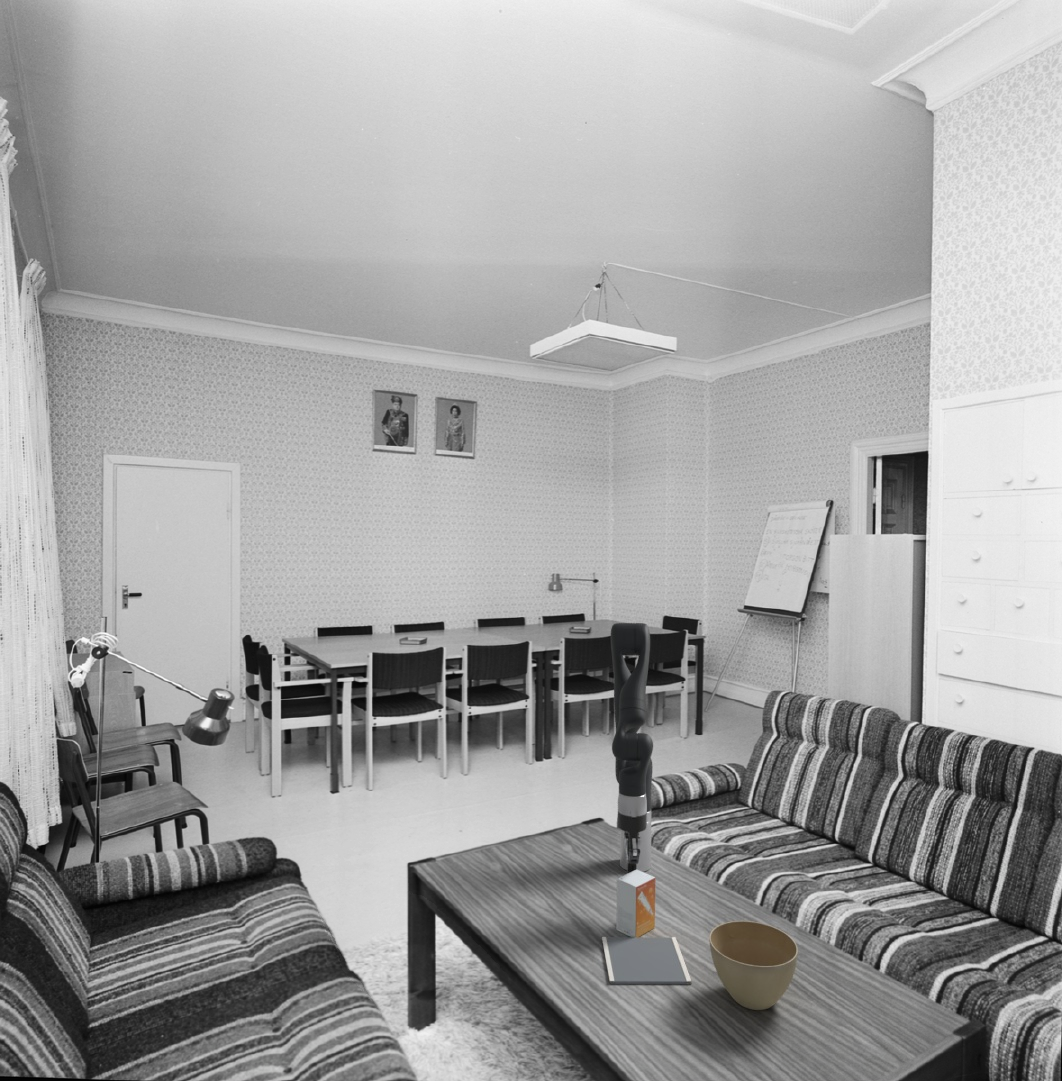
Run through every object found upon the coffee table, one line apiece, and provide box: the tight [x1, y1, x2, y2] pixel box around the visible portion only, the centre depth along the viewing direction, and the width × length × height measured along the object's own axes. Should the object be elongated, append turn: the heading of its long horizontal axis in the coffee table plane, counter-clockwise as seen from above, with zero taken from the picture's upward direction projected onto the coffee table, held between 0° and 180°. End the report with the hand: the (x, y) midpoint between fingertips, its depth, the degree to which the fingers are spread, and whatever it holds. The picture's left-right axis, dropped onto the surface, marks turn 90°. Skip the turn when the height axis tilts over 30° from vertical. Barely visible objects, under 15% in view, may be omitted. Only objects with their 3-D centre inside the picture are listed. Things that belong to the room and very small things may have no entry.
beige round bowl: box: [708, 920, 799, 1011], centre depth 160 cm, size 18×18×12 cm
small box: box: [615, 870, 656, 937], centre depth 188 cm, size 8×6×13 cm
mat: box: [601, 936, 692, 985], centre depth 174 cm, size 18×18×1 cm
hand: (631, 875), depth 195 cm, fingers closed
